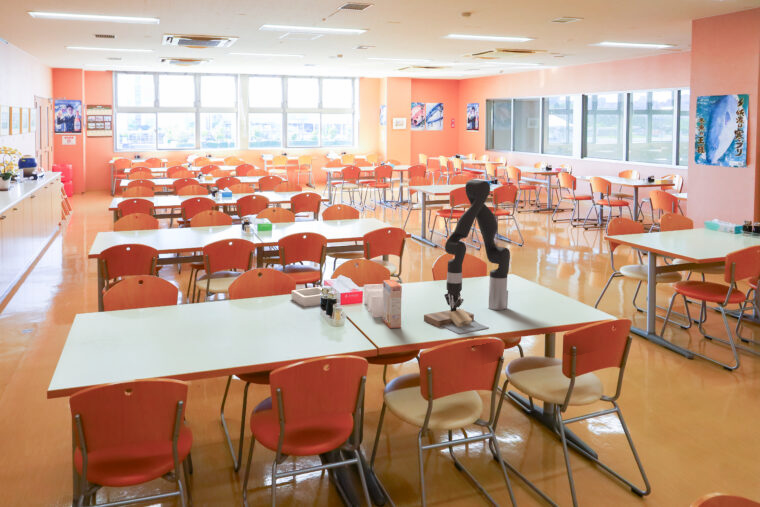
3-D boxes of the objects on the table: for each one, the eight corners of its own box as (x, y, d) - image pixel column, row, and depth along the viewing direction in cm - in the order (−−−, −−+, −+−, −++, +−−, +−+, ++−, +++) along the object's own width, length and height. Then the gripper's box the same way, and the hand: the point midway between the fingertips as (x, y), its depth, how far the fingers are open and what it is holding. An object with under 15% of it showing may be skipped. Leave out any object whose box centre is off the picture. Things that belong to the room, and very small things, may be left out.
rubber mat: (469, 320, 323) (469, 319, 323) (488, 328, 310) (488, 327, 310) (440, 325, 314) (440, 324, 314) (459, 334, 301) (459, 333, 301)
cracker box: (401, 328, 310) (402, 285, 306) (389, 328, 308) (389, 286, 304) (394, 319, 323) (394, 279, 319) (382, 320, 322) (382, 279, 318)
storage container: (393, 316, 329) (393, 295, 327) (372, 317, 327) (372, 296, 325) (383, 303, 353) (383, 283, 351) (363, 304, 351) (363, 284, 349)
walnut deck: (458, 314, 333) (459, 308, 332) (473, 320, 323) (473, 314, 322) (423, 320, 322) (423, 314, 321) (438, 326, 312) (438, 320, 311)
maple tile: (461, 314, 320) (463, 309, 318) (470, 324, 315) (472, 319, 313) (448, 316, 316) (450, 311, 314) (457, 326, 311) (459, 322, 309)
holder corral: (318, 295, 368) (318, 286, 367) (332, 302, 354) (332, 293, 353) (291, 299, 359) (291, 290, 358) (304, 306, 345) (303, 297, 344)
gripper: (468, 282, 311) (467, 317, 315) (452, 277, 323) (451, 310, 326) (456, 284, 308) (455, 319, 311) (440, 278, 319) (439, 312, 322)
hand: (453, 314), depth 319 cm, fingers closed
